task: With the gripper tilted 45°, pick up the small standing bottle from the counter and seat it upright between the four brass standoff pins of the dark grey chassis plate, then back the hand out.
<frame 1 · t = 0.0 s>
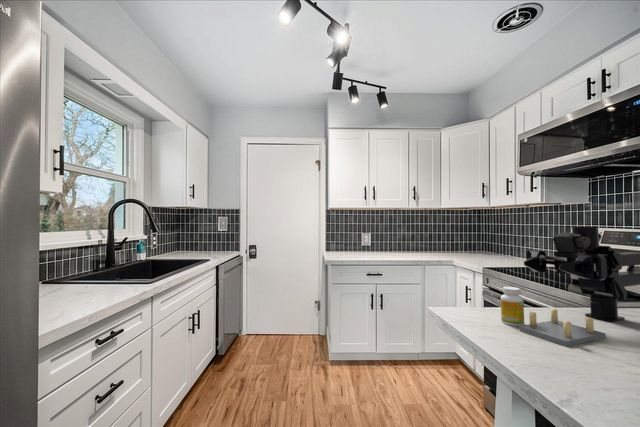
hand: (541, 265, 80), 17 cm above the countertop, tool horizontal, fingers open, 9 cm apart
supplement bottle: (512, 323, 83), on the countertop
chassis plate: (561, 334, 75), on the countertop
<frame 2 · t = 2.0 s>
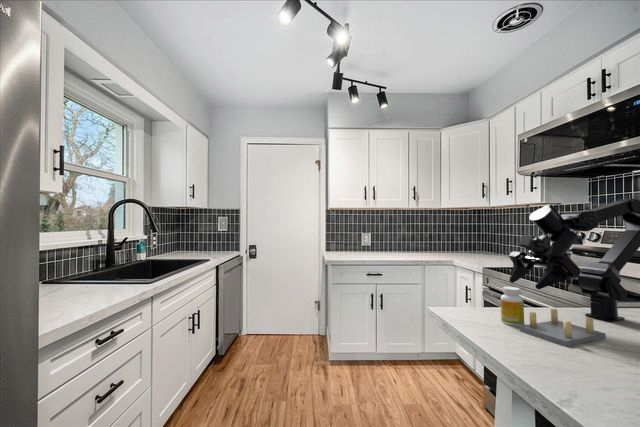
hand: (523, 284, 84), 10 cm above the countertop, tool tilted 45°, fingers open, 9 cm apart
nothing on the countertop moved.
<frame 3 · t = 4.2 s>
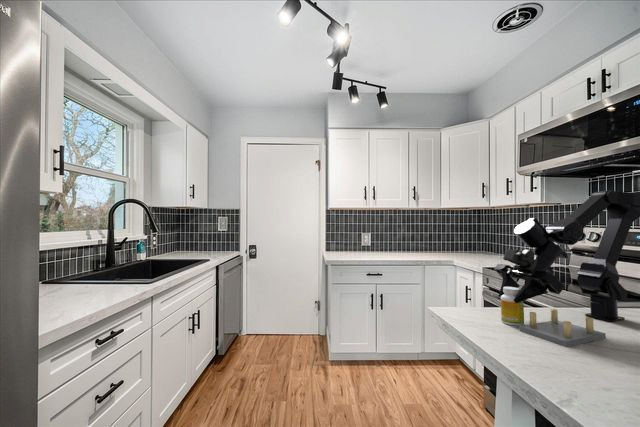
hand: (507, 299, 84), 7 cm above the countertop, tool tilted 45°, fingers closed on supplement bottle, 5 cm apart
supplement bottle: (512, 323, 83), on the countertop, touching gripper
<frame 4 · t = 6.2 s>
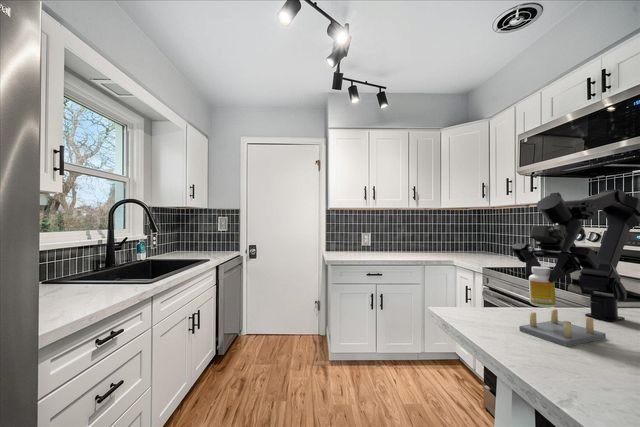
hand: (538, 279, 77), 13 cm above the countertop, tool tilted 45°, fingers closed on supplement bottle, 5 cm apart
supplement bottle: (542, 305, 78), point 6 cm above the countertop, touching gripper
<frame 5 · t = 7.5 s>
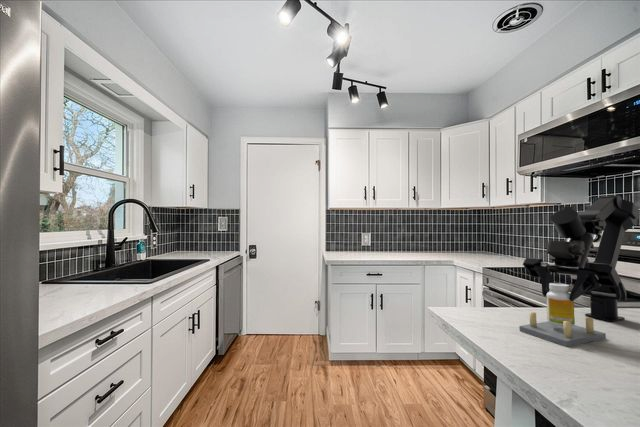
hand: (556, 297, 74), 9 cm above the countertop, tool tilted 45°, fingers closed on supplement bottle, 5 cm apart
supplement bottle: (560, 324, 75), point 2 cm above the countertop, touching gripper
when the fingers open (9 cm above the countertop, at t = 8.4 s): supplement bottle drops 1 cm, resting on chassis plate.
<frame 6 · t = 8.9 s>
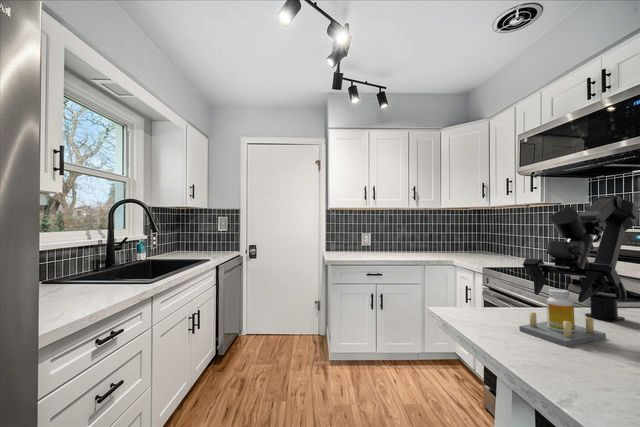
hand: (556, 297, 74), 9 cm above the countertop, tool tilted 45°, fingers open, 9 cm apart
supplement bottle: (561, 330, 75), point 1 cm above the countertop, touching chassis plate
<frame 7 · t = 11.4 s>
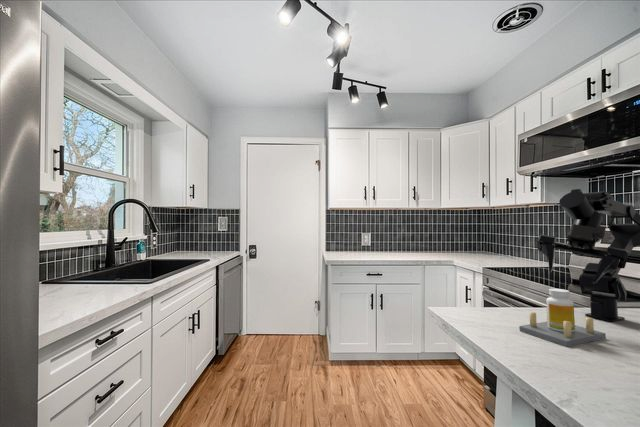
hand: (571, 277, 80), 13 cm above the countertop, tool tilted 35°, fingers open, 9 cm apart
nothing on the countertop moved.
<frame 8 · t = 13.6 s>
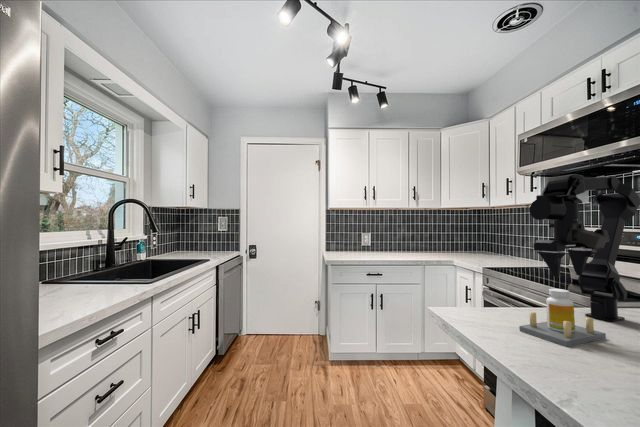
hand: (568, 276, 83), 13 cm above the countertop, tool pointing down, fingers open, 9 cm apart
nothing on the countertop moved.
at the end: supplement bottle 0.2 cm off-centre on the chassis plate, point 1.0 cm above the chassis plate's base; supplement bottle tilted 0°; the gripper is holding nothing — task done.
